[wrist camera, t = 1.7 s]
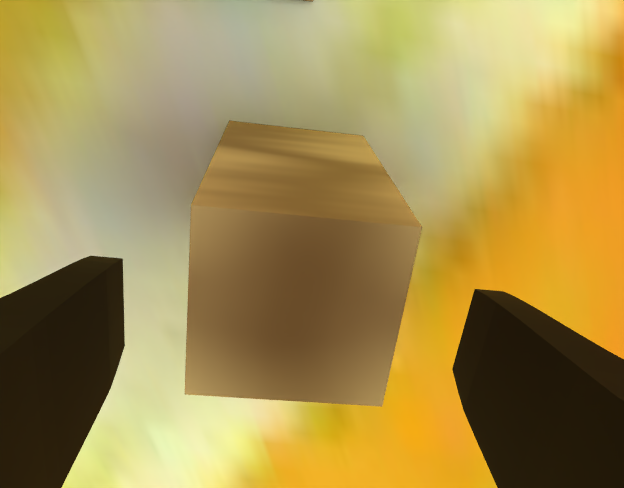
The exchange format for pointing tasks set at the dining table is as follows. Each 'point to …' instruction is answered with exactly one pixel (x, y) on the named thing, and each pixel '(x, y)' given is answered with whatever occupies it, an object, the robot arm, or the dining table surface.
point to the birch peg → (296, 268)
